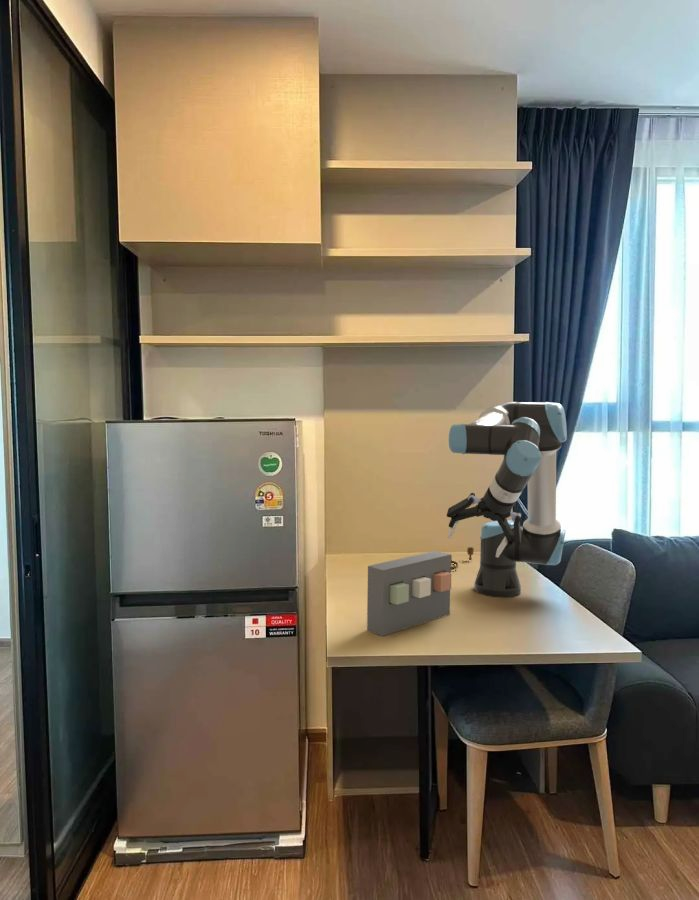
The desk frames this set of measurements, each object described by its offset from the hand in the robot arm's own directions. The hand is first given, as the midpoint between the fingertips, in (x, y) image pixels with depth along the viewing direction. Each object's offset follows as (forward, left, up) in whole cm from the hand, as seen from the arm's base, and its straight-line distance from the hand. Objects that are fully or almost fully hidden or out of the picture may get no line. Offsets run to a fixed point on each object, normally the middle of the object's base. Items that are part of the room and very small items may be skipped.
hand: (473, 544), depth 179 cm
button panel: (-1, -17, -25) cm, 30 cm away
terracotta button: (-9, -12, -16) cm, 22 cm away
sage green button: (+8, -19, -16) cm, 26 cm away
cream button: (-1, -16, -16) cm, 22 cm away
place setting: (-70, -23, -25) cm, 78 cm away
